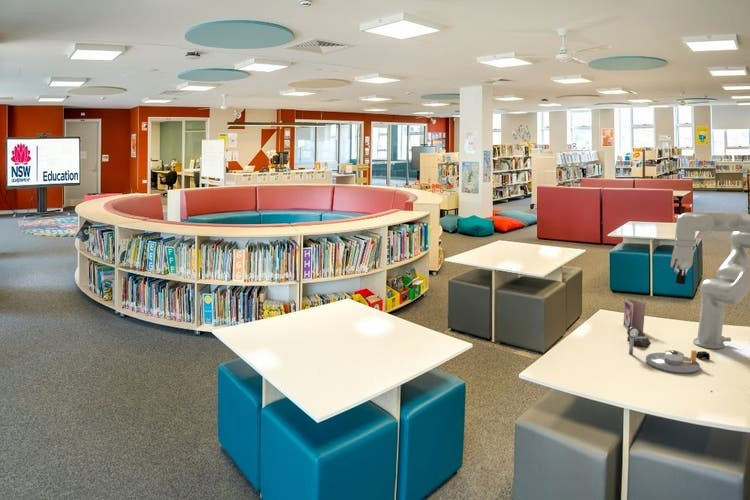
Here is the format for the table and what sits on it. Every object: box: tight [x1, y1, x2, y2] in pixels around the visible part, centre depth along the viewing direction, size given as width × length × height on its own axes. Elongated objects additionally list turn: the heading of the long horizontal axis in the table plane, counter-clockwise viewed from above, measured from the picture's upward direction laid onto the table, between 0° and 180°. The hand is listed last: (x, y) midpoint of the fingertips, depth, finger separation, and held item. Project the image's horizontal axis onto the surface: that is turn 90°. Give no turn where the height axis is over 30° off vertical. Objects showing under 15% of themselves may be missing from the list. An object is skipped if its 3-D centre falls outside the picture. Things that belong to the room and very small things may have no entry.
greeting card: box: [622, 297, 646, 333], centre depth 279 cm, size 11×7×15 cm, turn 174°
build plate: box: [696, 350, 711, 361], centre depth 238 cm, size 12×7×5 cm, turn 95°
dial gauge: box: [626, 327, 647, 355], centre depth 242 cm, size 9×6×14 cm, turn 93°
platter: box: [645, 350, 701, 375], centre depth 230 cm, size 20×20×6 cm
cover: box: [664, 349, 685, 366], centre depth 229 cm, size 7×7×5 cm
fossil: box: [626, 328, 651, 348], centre depth 256 cm, size 11×9×10 cm
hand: (680, 283), depth 244 cm, fingers closed
